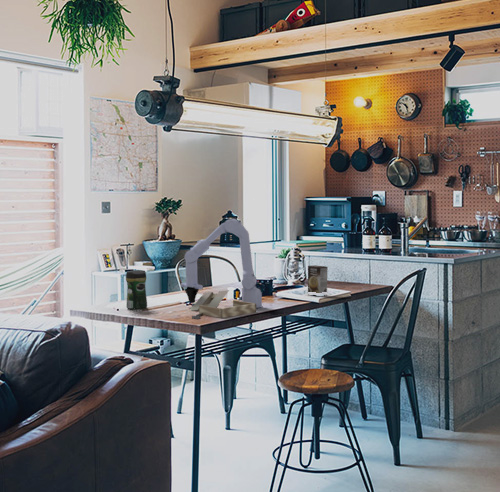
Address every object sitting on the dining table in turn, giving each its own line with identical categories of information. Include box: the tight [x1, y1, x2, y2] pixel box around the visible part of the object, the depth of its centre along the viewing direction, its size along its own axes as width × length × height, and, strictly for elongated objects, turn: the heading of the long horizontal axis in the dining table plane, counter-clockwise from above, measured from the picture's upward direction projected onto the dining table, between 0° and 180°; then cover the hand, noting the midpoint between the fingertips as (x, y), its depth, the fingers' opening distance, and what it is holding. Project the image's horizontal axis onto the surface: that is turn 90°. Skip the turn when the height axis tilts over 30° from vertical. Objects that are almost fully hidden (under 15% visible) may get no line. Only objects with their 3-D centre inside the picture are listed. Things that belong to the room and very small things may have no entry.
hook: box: [191, 313, 204, 320], centre depth 308 cm, size 10×3×1 cm, turn 157°
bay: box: [198, 299, 257, 319], centre depth 318 cm, size 22×15×4 cm
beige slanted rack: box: [188, 289, 230, 312], centre depth 328 cm, size 16×9×15 cm
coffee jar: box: [125, 269, 148, 310], centre depth 332 cm, size 10×8×19 cm
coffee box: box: [307, 265, 328, 293], centre depth 373 cm, size 9×6×16 cm
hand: (191, 302), depth 337 cm, fingers closed
